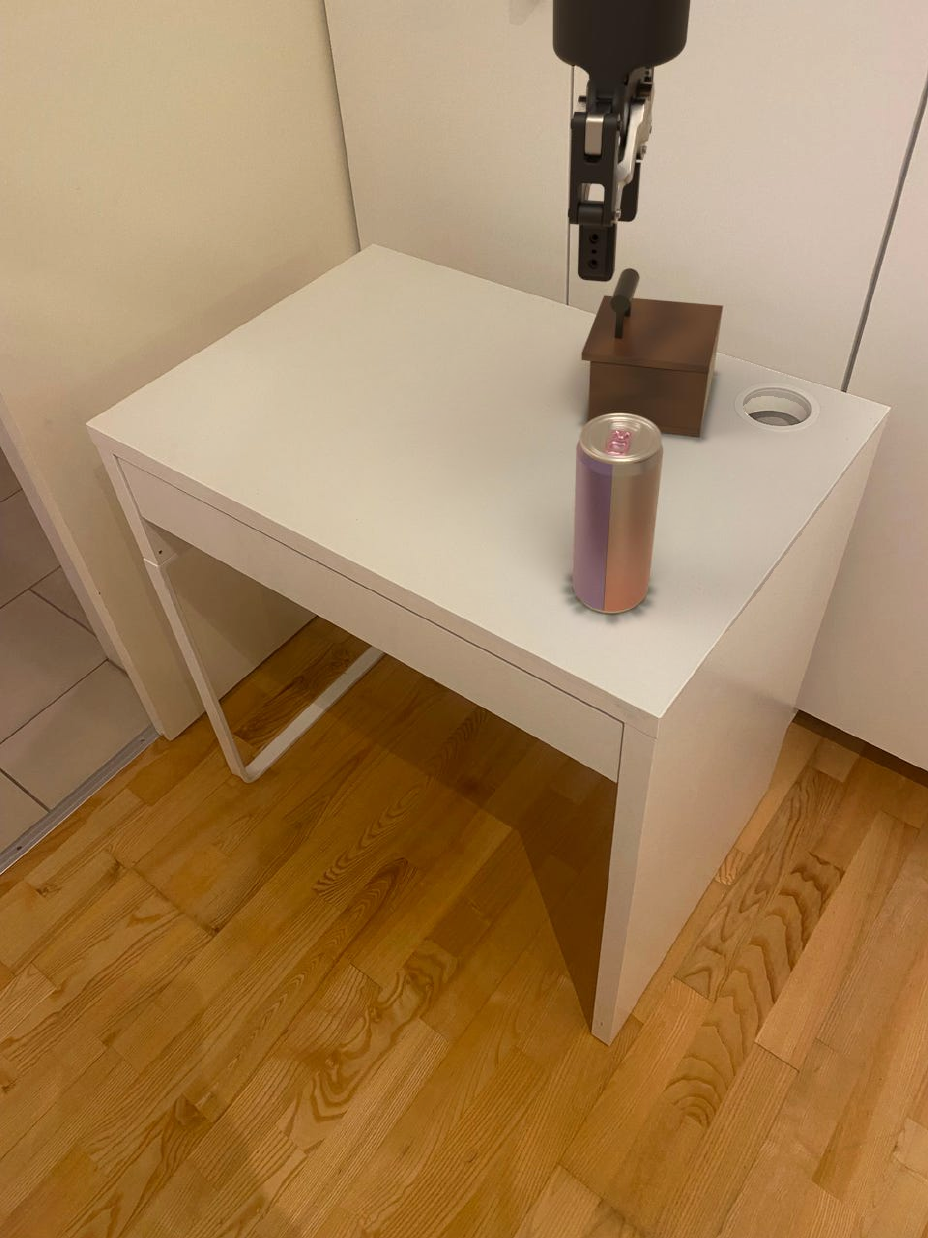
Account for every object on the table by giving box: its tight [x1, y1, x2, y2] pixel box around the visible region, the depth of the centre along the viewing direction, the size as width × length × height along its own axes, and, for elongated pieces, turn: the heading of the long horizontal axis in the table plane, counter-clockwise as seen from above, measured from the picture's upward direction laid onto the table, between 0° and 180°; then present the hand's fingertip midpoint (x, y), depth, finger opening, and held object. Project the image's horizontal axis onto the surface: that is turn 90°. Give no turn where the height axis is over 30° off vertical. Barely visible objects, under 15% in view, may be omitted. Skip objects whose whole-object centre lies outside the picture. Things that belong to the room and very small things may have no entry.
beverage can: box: [572, 413, 664, 614], centre depth 71 cm, size 6×6×15 cm
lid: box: [580, 267, 724, 373], centre depth 87 cm, size 11×11×5 cm
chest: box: [587, 315, 723, 438], centre depth 91 cm, size 11×11×7 cm
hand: (608, 247), depth 63 cm, fingers open, 8 cm apart
